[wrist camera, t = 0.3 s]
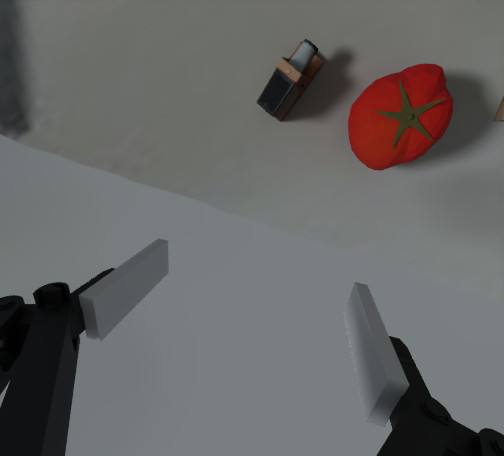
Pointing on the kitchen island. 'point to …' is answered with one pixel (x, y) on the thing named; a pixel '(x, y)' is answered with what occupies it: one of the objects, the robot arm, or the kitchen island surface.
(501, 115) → the board
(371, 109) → the tomato
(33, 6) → the kitchen island surface
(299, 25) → the kitchen island surface
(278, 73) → the electronic device
